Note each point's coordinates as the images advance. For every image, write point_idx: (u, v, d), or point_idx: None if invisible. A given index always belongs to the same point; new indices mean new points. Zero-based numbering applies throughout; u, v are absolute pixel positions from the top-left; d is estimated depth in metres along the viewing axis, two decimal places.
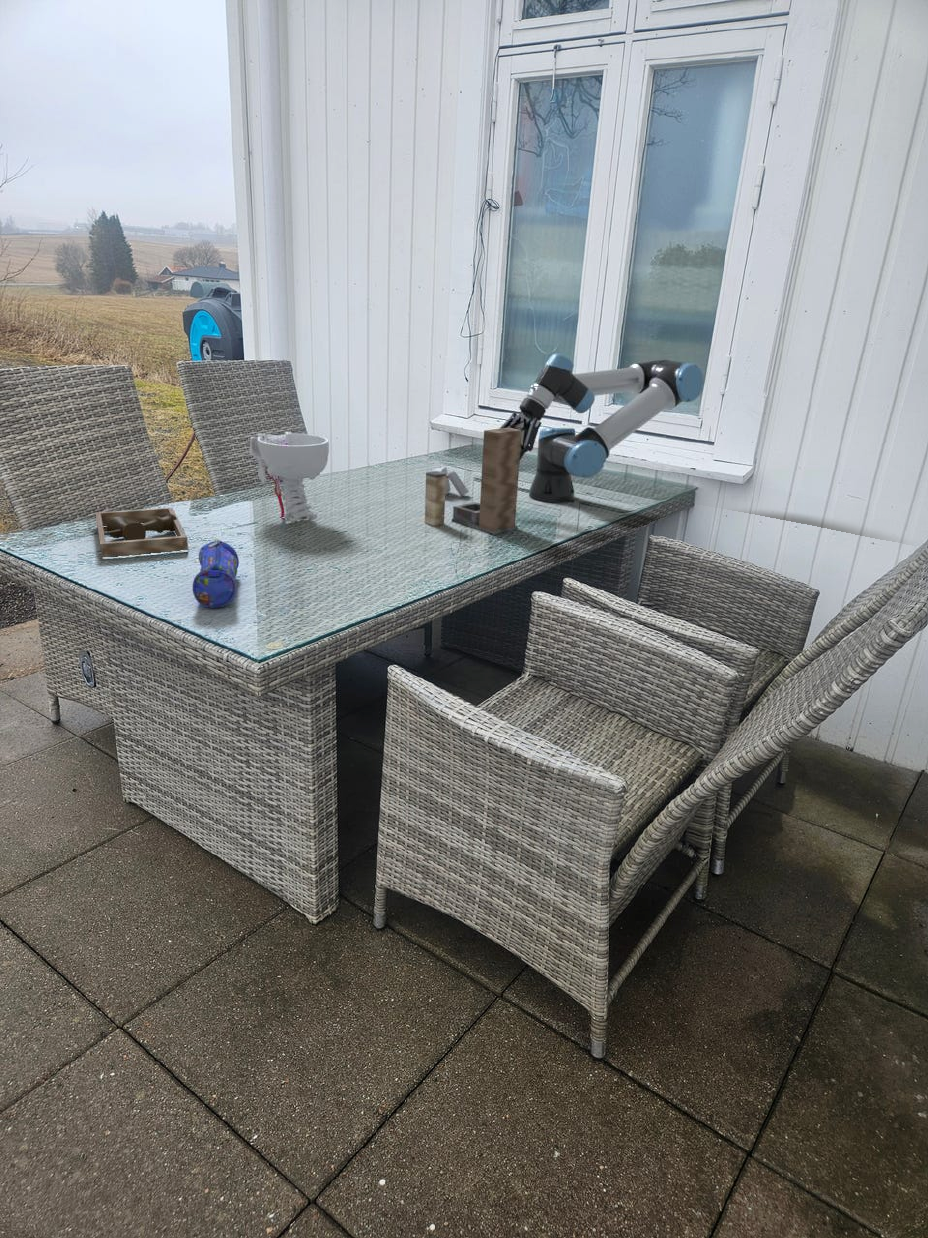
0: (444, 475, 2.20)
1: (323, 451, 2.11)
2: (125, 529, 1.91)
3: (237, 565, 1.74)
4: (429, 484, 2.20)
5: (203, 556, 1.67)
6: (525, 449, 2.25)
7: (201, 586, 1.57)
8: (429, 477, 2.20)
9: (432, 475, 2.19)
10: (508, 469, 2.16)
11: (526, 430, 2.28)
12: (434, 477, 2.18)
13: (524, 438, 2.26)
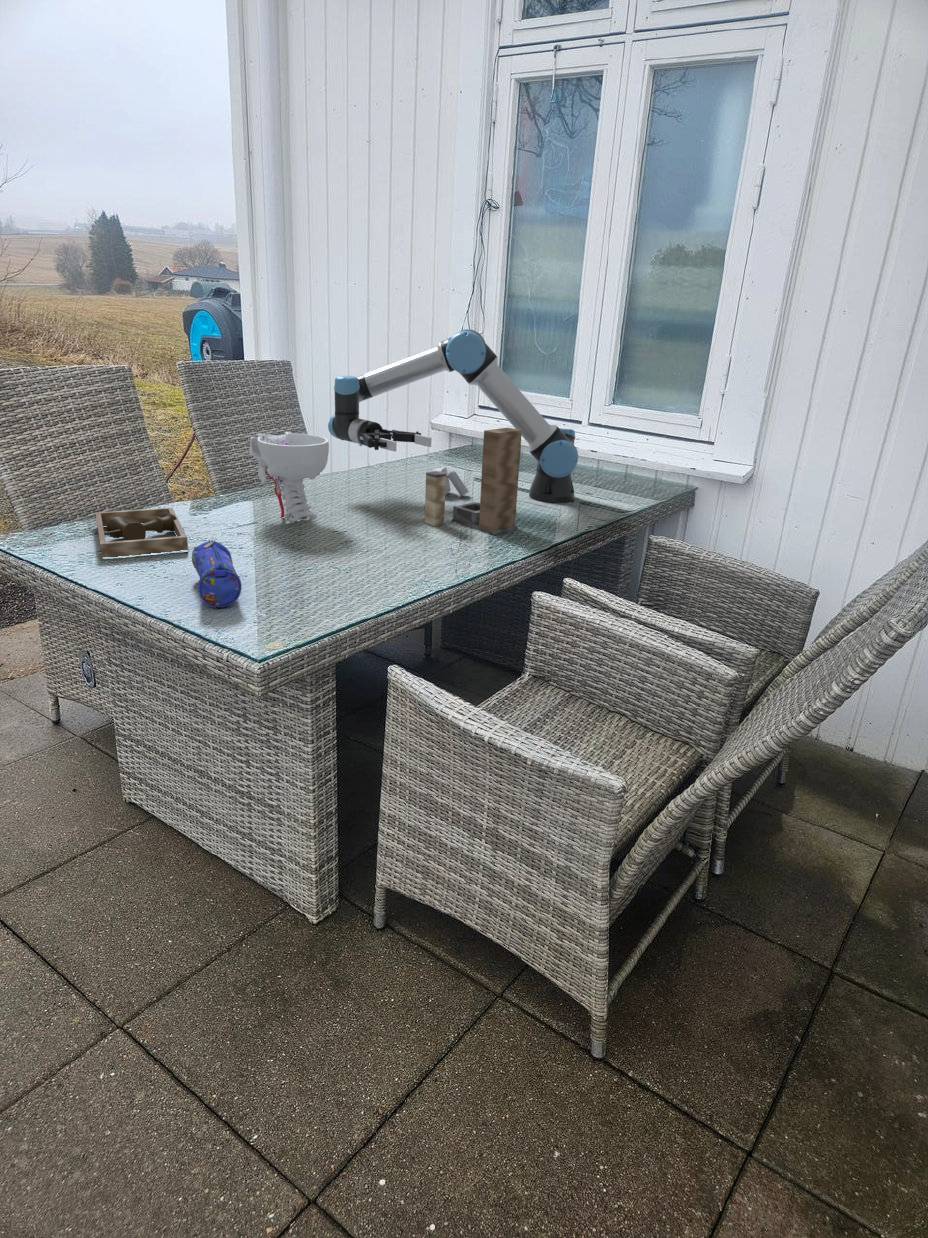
0: (444, 475, 2.20)
1: (323, 451, 2.11)
2: (125, 529, 1.91)
3: None
4: (429, 483, 2.20)
5: (200, 557, 1.67)
6: (373, 443, 2.22)
7: (207, 586, 1.57)
8: (429, 477, 2.20)
9: (432, 475, 2.19)
10: (508, 469, 2.16)
11: None
12: (434, 477, 2.18)
13: None
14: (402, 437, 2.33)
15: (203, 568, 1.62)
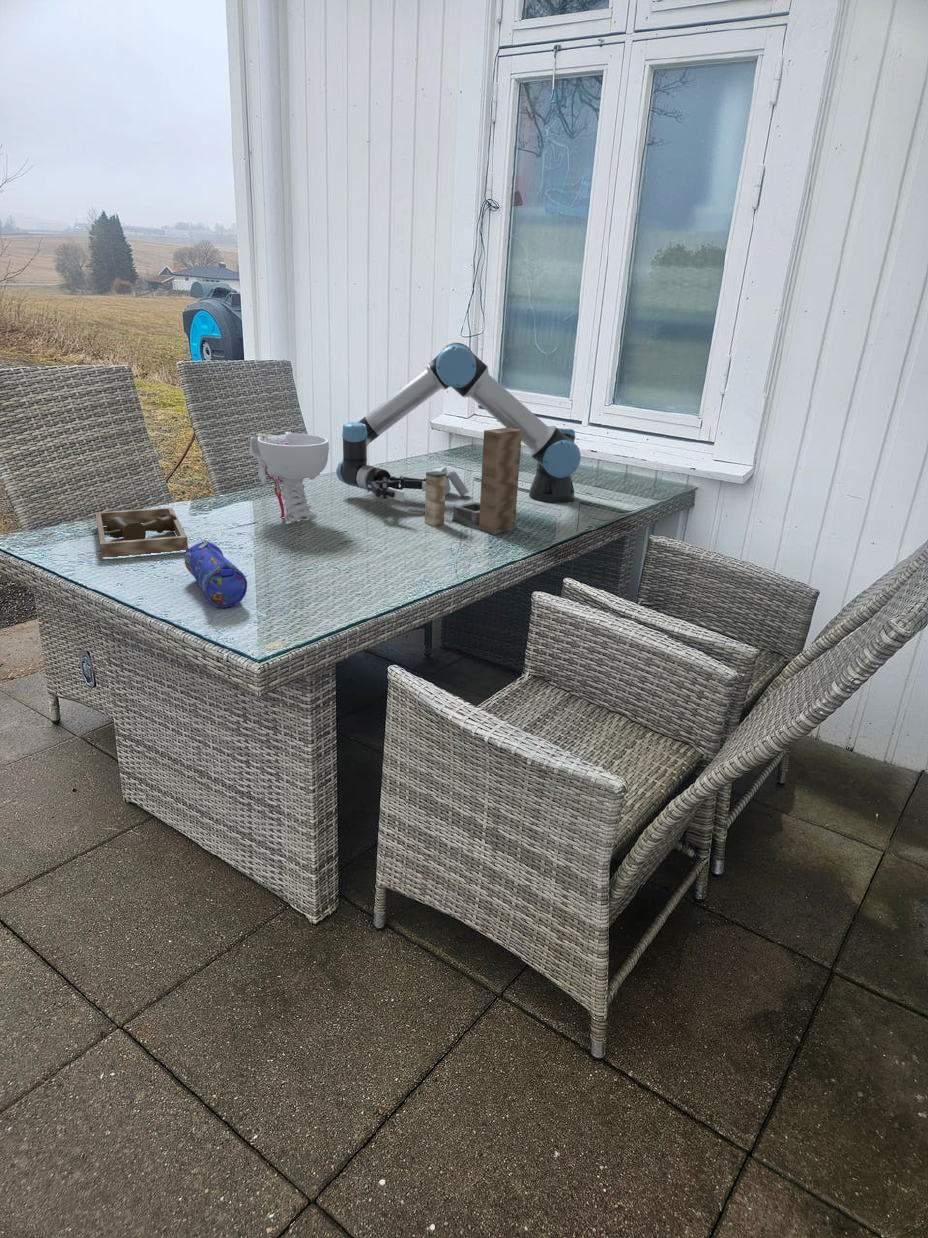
0: (444, 475, 2.20)
1: (323, 451, 2.11)
2: (125, 529, 1.91)
3: None
4: (429, 484, 2.20)
5: (198, 558, 1.66)
6: (381, 493, 2.25)
7: (214, 586, 1.57)
8: (429, 477, 2.20)
9: (432, 475, 2.19)
10: (508, 469, 2.16)
11: None
12: (434, 477, 2.18)
13: None
14: (410, 485, 2.36)
15: (205, 568, 1.62)
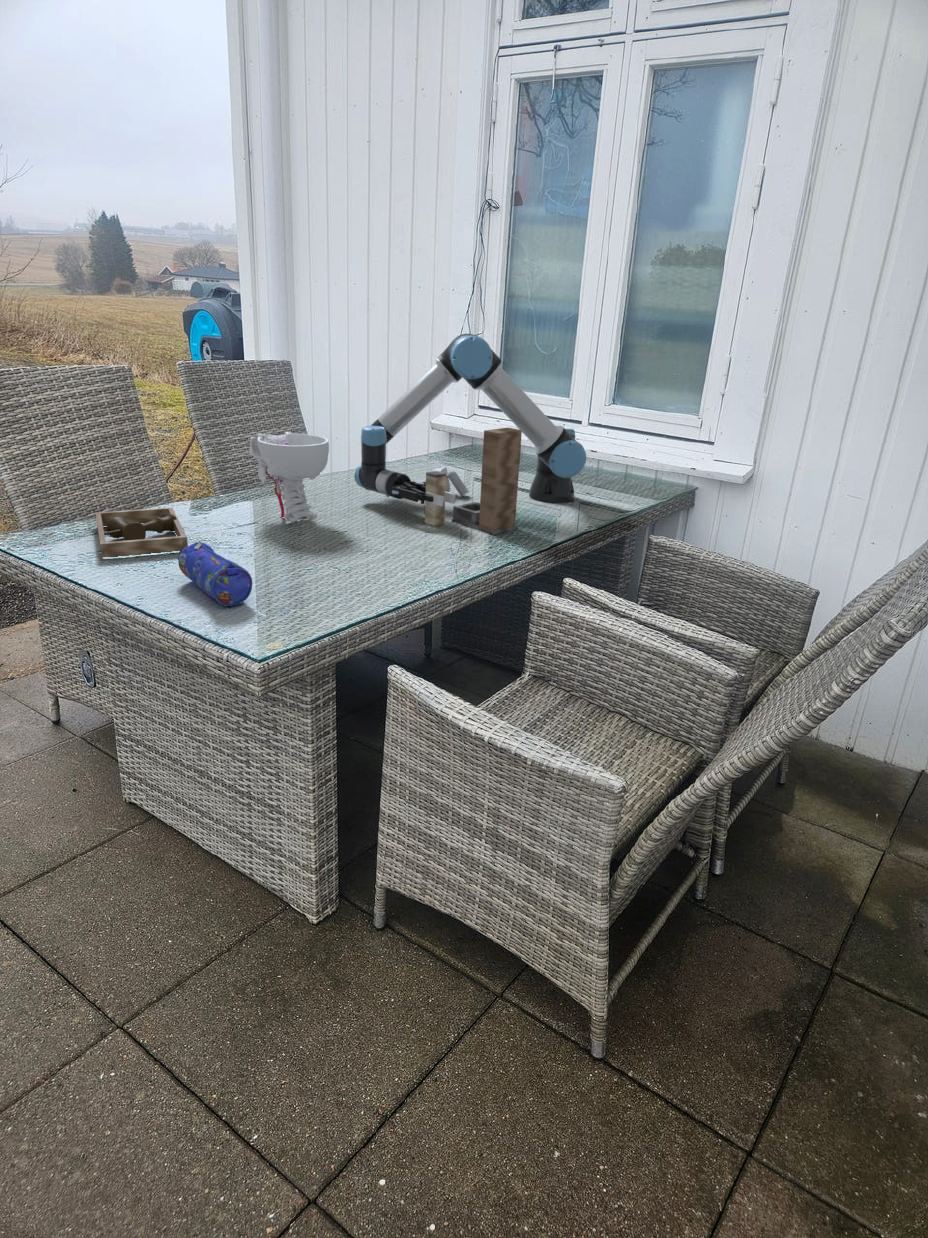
0: (444, 475, 2.20)
1: (323, 451, 2.11)
2: (125, 529, 1.91)
3: None
4: (429, 483, 2.20)
5: (196, 558, 1.66)
6: (419, 497, 2.21)
7: (221, 585, 1.57)
8: (429, 477, 2.20)
9: (432, 475, 2.19)
10: (508, 469, 2.16)
11: None
12: (434, 477, 2.18)
13: None
14: None
15: (207, 569, 1.61)
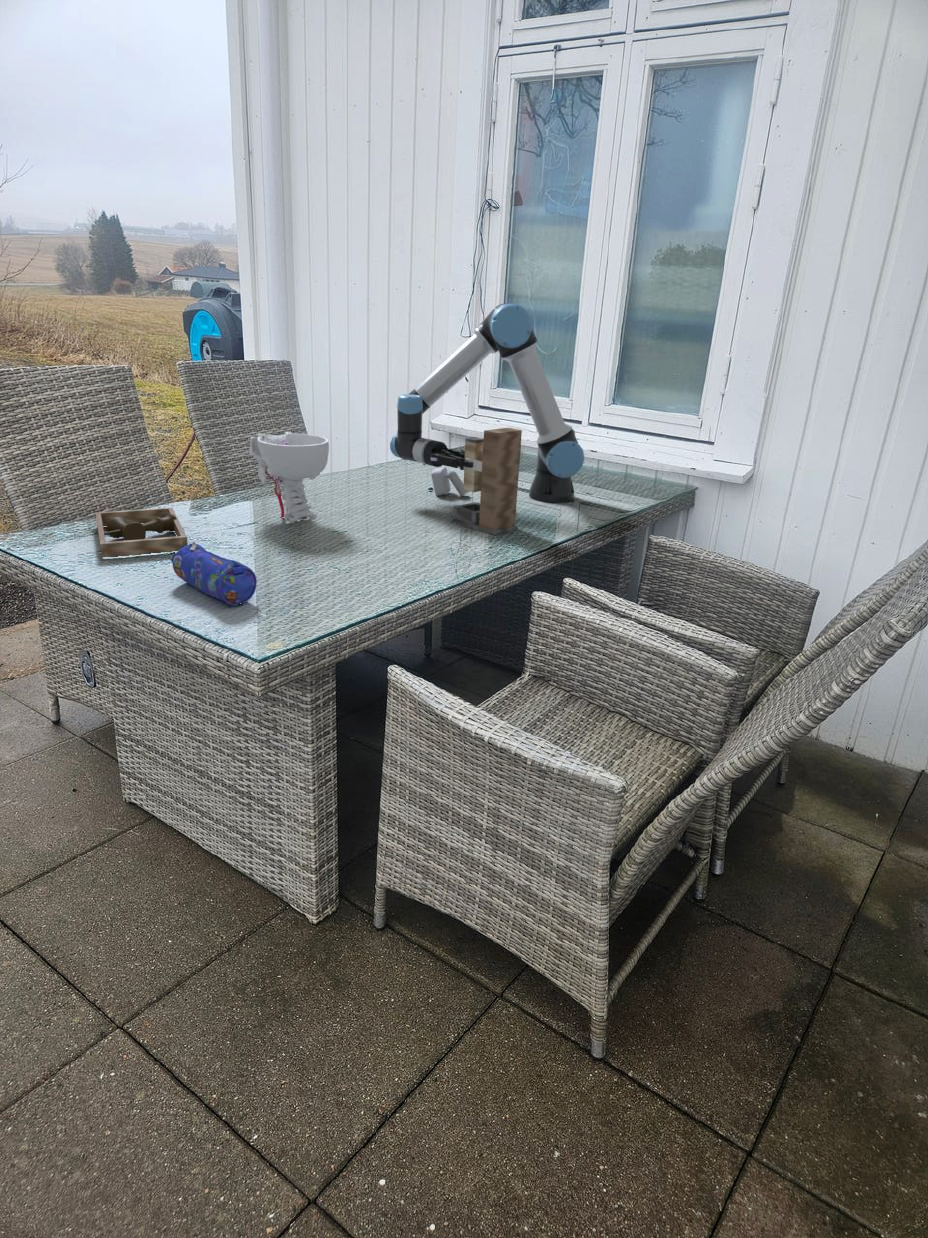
0: None
1: (323, 451, 2.11)
2: (125, 529, 1.91)
3: None
4: (469, 449, 2.20)
5: (194, 559, 1.65)
6: (459, 463, 2.20)
7: (228, 584, 1.58)
8: (468, 442, 2.19)
9: (472, 440, 2.18)
10: (508, 469, 2.16)
11: None
12: (474, 442, 2.18)
13: None
14: (465, 459, 2.27)
15: (210, 569, 1.61)
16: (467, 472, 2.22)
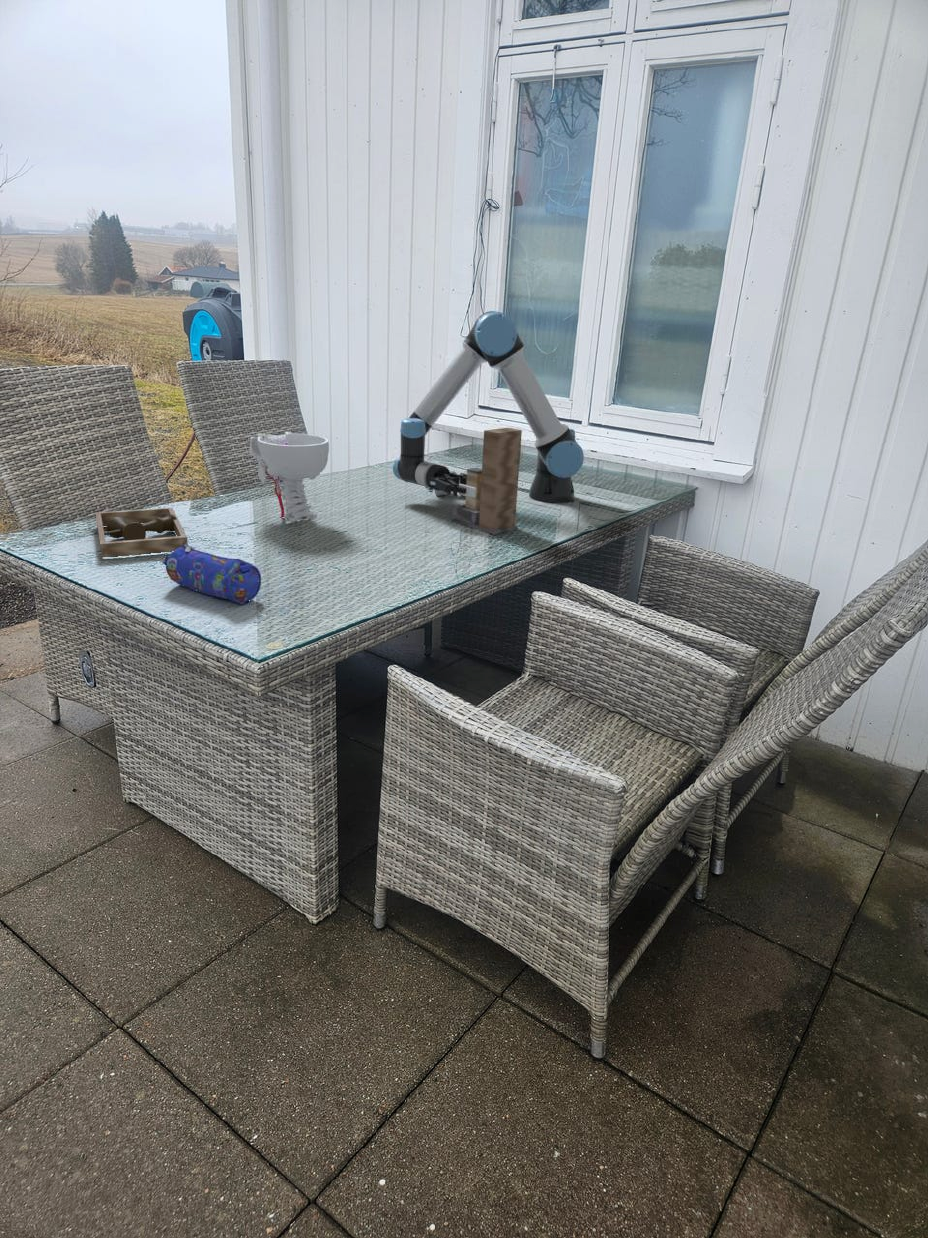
0: None
1: (323, 451, 2.11)
2: (125, 529, 1.91)
3: None
4: (470, 480, 2.23)
5: (193, 561, 1.64)
6: (452, 489, 2.22)
7: (237, 583, 1.59)
8: (470, 473, 2.23)
9: (473, 471, 2.22)
10: (508, 469, 2.16)
11: None
12: (475, 473, 2.21)
13: None
14: None
15: (213, 569, 1.61)
16: (468, 502, 2.26)
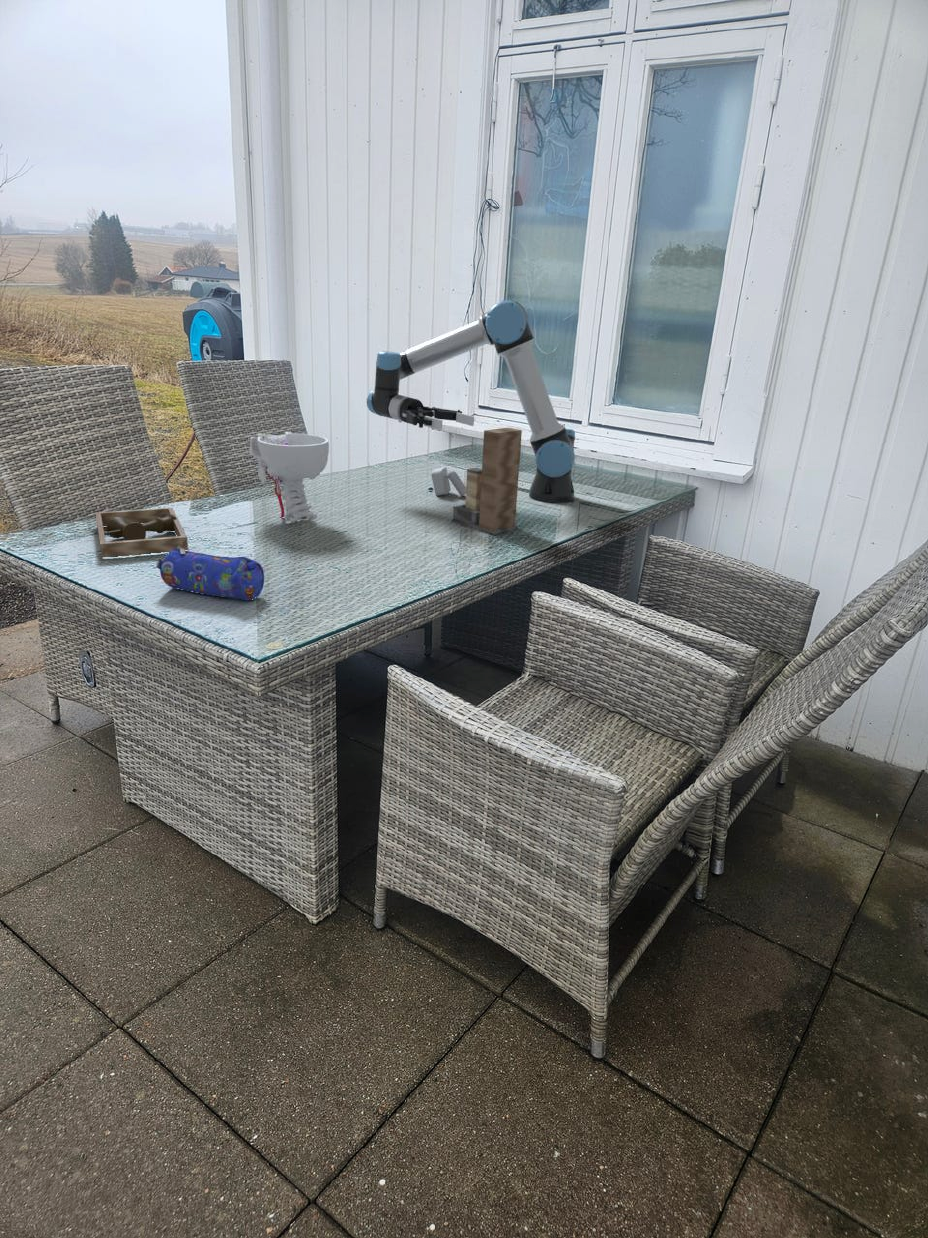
0: None
1: (323, 451, 2.11)
2: (125, 529, 1.91)
3: None
4: (470, 480, 2.23)
5: (192, 562, 1.63)
6: (418, 421, 2.23)
7: (246, 580, 1.61)
8: (470, 473, 2.23)
9: (473, 471, 2.22)
10: (508, 469, 2.16)
11: None
12: (475, 473, 2.21)
13: None
14: (444, 415, 2.34)
15: (218, 569, 1.62)
16: (468, 502, 2.26)
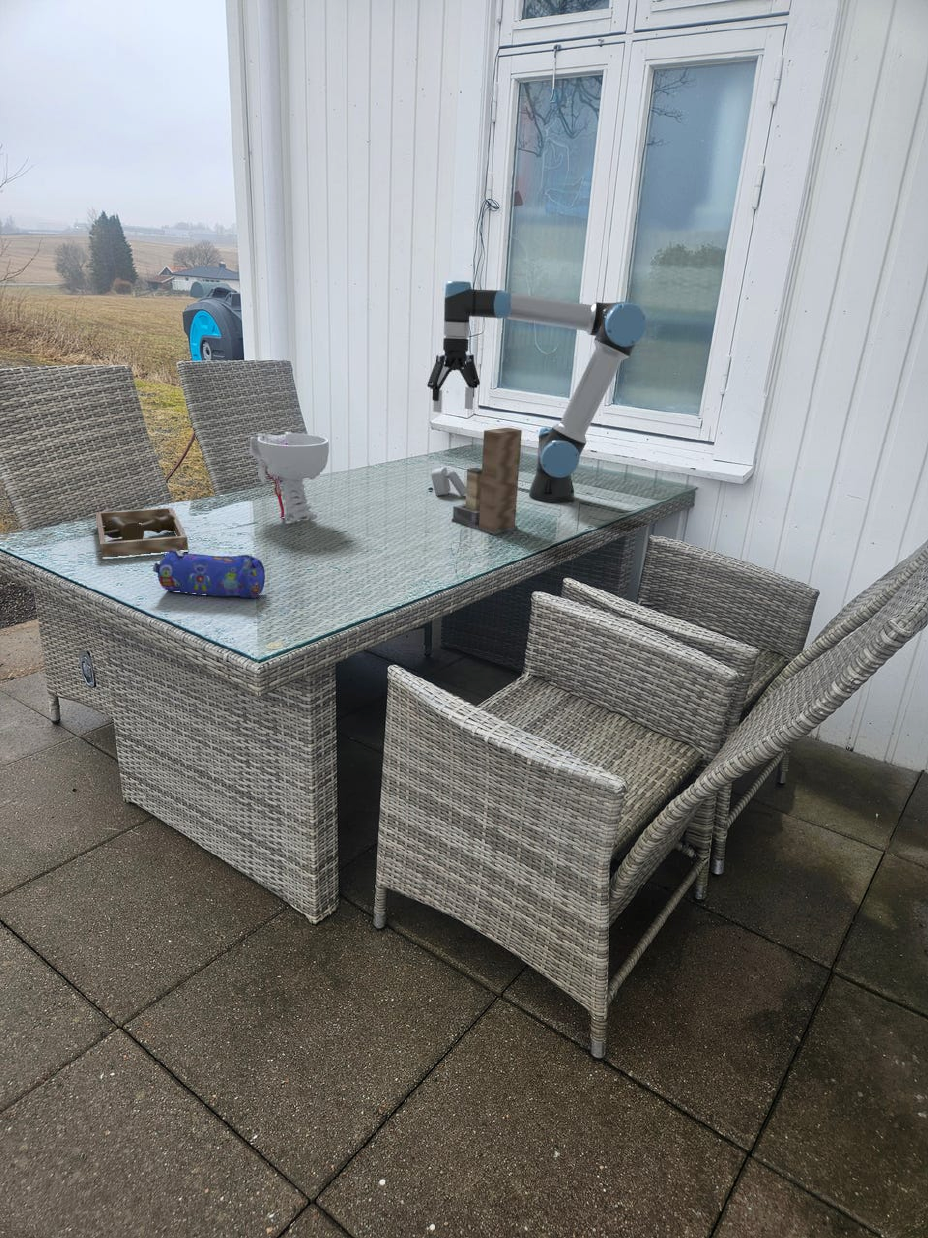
0: None
1: (323, 451, 2.11)
2: (123, 529, 1.91)
3: None
4: (470, 480, 2.23)
5: (193, 564, 1.62)
6: (432, 388, 2.30)
7: (253, 578, 1.62)
8: (470, 473, 2.23)
9: (473, 471, 2.22)
10: (508, 469, 2.16)
11: (444, 368, 2.32)
12: (475, 473, 2.21)
13: None
14: (465, 376, 2.39)
15: (221, 568, 1.62)
16: (468, 502, 2.26)
